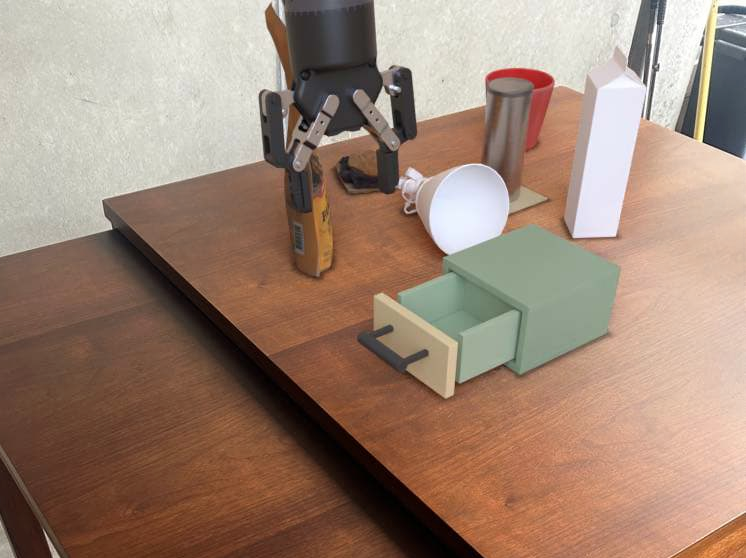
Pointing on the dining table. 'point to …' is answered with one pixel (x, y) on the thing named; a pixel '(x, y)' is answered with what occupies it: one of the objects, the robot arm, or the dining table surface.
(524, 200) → the mat
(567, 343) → the cabinet
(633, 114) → the milk
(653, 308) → the dining table surface
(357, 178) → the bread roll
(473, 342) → the drawer
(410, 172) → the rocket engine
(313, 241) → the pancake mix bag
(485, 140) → the silver tall cylinder
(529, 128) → the flower pot
